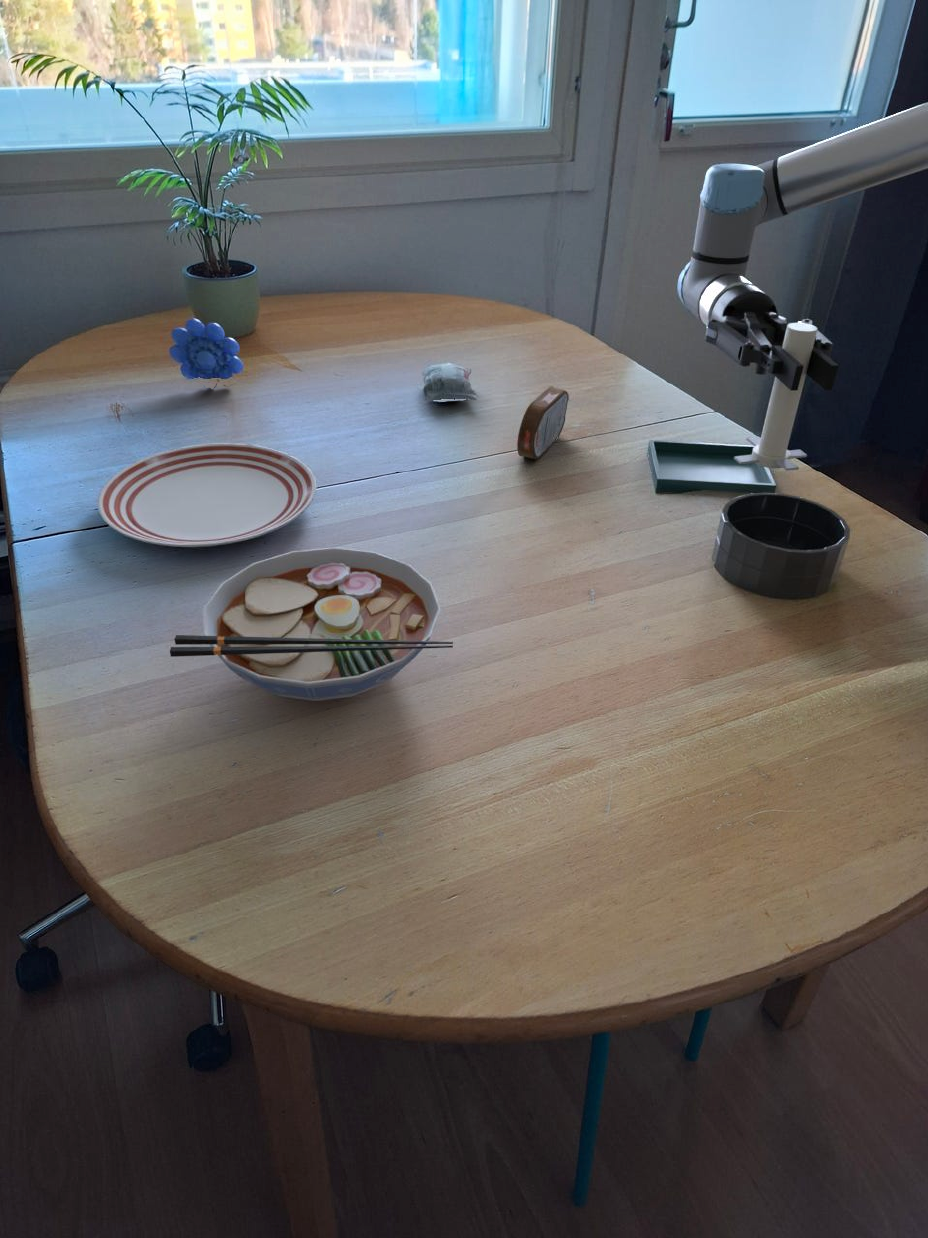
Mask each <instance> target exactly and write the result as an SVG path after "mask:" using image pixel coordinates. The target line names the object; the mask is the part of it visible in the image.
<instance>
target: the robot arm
mask: <svg viewBox="0 0 928 1238" xmlns="http://www.w3.org/2000/svg"><path fill="white" fill-rule="evenodd" d="M927 169H928V102H925V103H922V104H919V105H916V106H914V107H911V108H909V109H906V110H902V111H901V112H897V113H895V114H893V115H889V116H887V117H885V118H881V119H879V120H876V121H873V122H871V123H869V124H865V125H862V126H860V127H858V128H857V127H856V128H855V129H852V130H849V131H846V132H843V133H841V134H838V135H835V136H833V137H831V138H828V139H824V140H822V141H819V142H816V143H814V144H811V145H808V146H806V147H803V148H800V149H798V150H795V151H793V152H790V153H787V154H785V155H782V156H778V158H775V159H772V160H768V161H765V162H762V163H760V164H757V165H751V164H744V163H743V164H741V163H720V164H714V165H711V166H710V167H709V168H708V169H707V171H706V173H705V177H704V182H703V185H702V186H703V187H702V190H701V191H700V194H699V198H700V203H699V210H698V215H697V222H696V228H695V234H694V242H693V246H692V247H693V248H692V253H691V257H690V261H689V262H688V263H687V264H686V265H685V266H684V268H683V269H682V271H681V272H680V274H679V277H678V280H677V294H678V297H679V299H680V301H681V302H682V304H683V305H684V307H685V310H686V311H687V312H688V313H689V314H691V316H693V317H695V318H697V319H698V320H699V321H700V322H701V323H702V324H703V326H705V327H706V331H705V335H704V336H705V337H704V341H705V343H709V344H711V345H713V346H715V347H716V348H717V349H719V350H720V351H722V352H723V353H724V354H726V355H727V356H728V357H729V358H731V359H732V360H733V361H734V362H735V363H737V364H738V365H739V366H741V367H750V366H751V364H753V363H754V365H755V371H754V373H755V374H756V375H760V376H761V375H766V373H769V374H772V375H773V376H774V377H775V376H776V377H777V378H778V379H779V380H780V381H781V382H782V383H783V384H784V385H785V386H786V387H788V388H789V389H790V390H791V391H798V387H799V383H800V379H801V375H802V371H803V367H804V366H803V365H802V364H801V363H800V362H798V361H797V360H796V359H795V358H794V357H792V356H791V355H790V354H789V353H788V352H786V351H785V350H784V349H783V348H782V346H783V342H784V337H785V333H786V329H787V325H788V324H790V321H789V320H788V318H786V317H784V316H781V315H779V312H778V309H777V306H776V303H775V302H774V300H773V298H771V296H769V295H768V294H767V293H765V292H764V291H763V290H761V289H760V288H759V287H758V286H757V285H755V284H754V283H752V282H750V281H749V280H748V279H746V273H747V268H748V263H749V260H750V253H751V249H752V245H753V244H752V243H753V240H754V235H755V229H756V228H757V227H758V226H759V225H762V224H765V223H767V222H771V221H774V220H777V219H780V218H782V217H786V216H787V215H790V214H793V213H796V212H799V211H802V210H805V209H808V208H811V207H815V206H817V205H820V204H823V203H827V202H829V201H833V200H836V199H838V198H842V197H844V196H847V195H850V194H854V193H857V192H860V191H863V190H866V189H869V188H871V187H872V188H873V187H875V186H878V185H882V184H884V183H887V182H890V181H893V180H896V179H899V178H902V177H906V176H908V175H912V174H915V173H917V172H921V171H923V170H927ZM797 323H806V324H811V325H813V320H812V319H809V318H803V319H802V320H801V321H797ZM833 346H834V343H833V342H831V341H830V339H828V338H827V337H826V336H825V335H824V334H823V333H822V332H820V331H819V330H817V334H816V337H815V341H814V345H813V349H812V353H811V357H810V361H809V365H808V369H807V373H806V376H808V377H809V378H810V379H812V380H813V381H814V382H815V383H816V384H817V385H818V386H819V387H821V388H822V389H823V390H824V391H833V388H834V385H835V381H836V377H837V374H838V370H839V364H837V363H836V362H835V361H834V360H832V358H830V357H831V353H832V349H833Z"/></svg>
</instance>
